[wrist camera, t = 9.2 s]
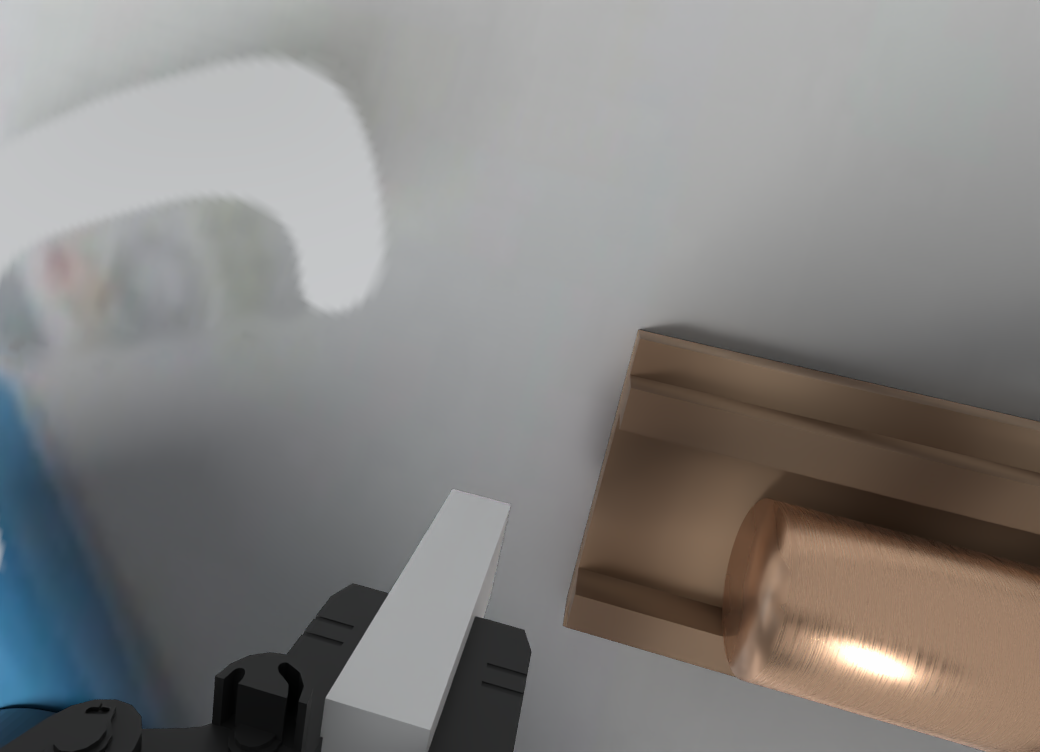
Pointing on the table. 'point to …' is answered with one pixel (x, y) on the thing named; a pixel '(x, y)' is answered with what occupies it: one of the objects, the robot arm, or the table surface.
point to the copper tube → (886, 626)
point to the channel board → (777, 483)
